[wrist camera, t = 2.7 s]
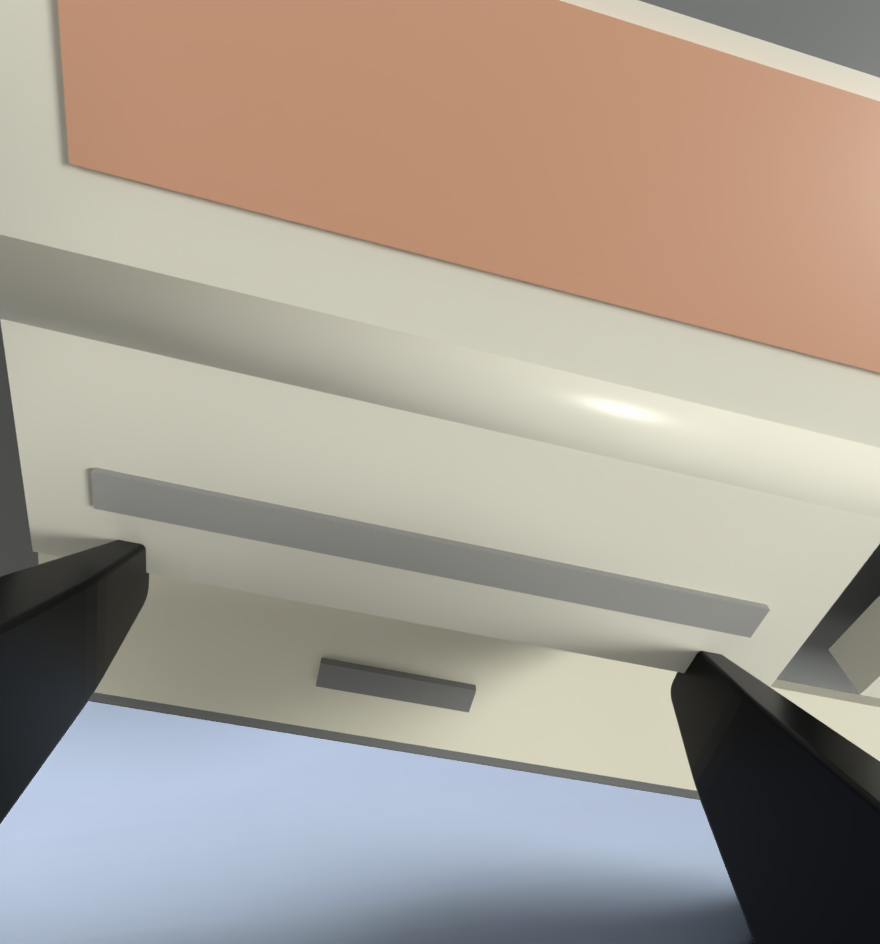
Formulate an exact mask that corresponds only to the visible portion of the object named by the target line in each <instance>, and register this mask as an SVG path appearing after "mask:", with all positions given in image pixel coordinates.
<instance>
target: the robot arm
mask: <svg viewBox="0 0 880 944" xmlns="http://www.w3.org/2000/svg"><path fill="white" fill-rule="evenodd" d="M148 589H149V573H146V548H145V546H144V545H142V544H139V543H133V542H128V541H123V540H115V541H112V542H109V543H106V544H103V545H99V546H96V547H93V548H90V549H87V550H84V551H80V552H77V553H74V554H71V555H68V556H64V557H61V558H58V559H55V560H52V561H48V562H45V563H42V564H39V565H36V566H32V567H29V568H26V569H23V570H20V571H17V572H13V573H10V574H7V575H4V576H1V577H0V824H1V822H2V821H3V819H4V818H5V817H6V815H7V814H8V812H9V811H10V810H11V808H12V807H13V805H14V804H15V803H16V801H17V800H18V799H19V797H20V796H21V794H22V793H23V792H24V790H25V789H26V787H27V786H28V785H29V783H30V782H31V780H32V779H33V778H34V776H35V775H36V773H37V772H38V771H39V769H40V768H41V766H42V765H43V764H44V762H45V761H46V759H47V758H48V757H49V755H50V754H51V752H52V751H53V750H54V748H55V747H56V745H57V744H58V743H59V741H60V740H61V738H62V737H63V736H64V734H65V733H66V731H67V730H68V729H69V727H70V726H71V724H72V723H73V722H74V720H75V719H76V717H77V716H78V715H79V713H80V712H81V710H82V709H83V708H84V706H85V705H86V703H87V702H88V700H89V699H90V697H91V696H92V695H93V693H94V692H95V690H96V688H97V687H98V685H99V683H100V682H101V680H102V678H103V677H104V675H105V673H106V671H107V670H108V668H109V666H110V664H111V662H112V661H113V659H114V657H115V655H116V654H117V652H118V650H119V648H120V646H121V645H122V643H123V641H124V639H125V637H126V636H127V634H128V632H129V630H130V629H131V627H132V625H133V623H134V621H135V620H136V618H137V616H138V614H139V612H140V611H141V609H142V607H143V605H144V603H145V601H146V598H147V595H148ZM670 693H671V701H672V704H673V708H674V711H675V715H676V719H677V722H678V726H679V730H680V733H681V737H682V741H683V744H684V748H685V752H686V755H687V759H688V762H689V766H690V770H691V773H692V776H693V780H694V783H695V786H696V789H697V792H698V795H699V798H700V801H701V803H702V806H703V809H704V811H705V814H706V817H707V819H708V822H709V825H710V827H711V830H712V833H713V835H714V838H715V840H716V843H717V846H718V848H719V851H720V854H721V856H722V859H723V862H724V864H725V867H726V870H727V872H728V875H729V878H730V880H731V883H732V886H733V888H734V891H735V894H736V896H737V899H738V901H739V904H740V907H741V909H742V912H743V915H744V917H745V920H746V923H747V925H748V928H749V931H750V933H751V936H752V939H753V941H754V944H880V761H879V760H877V759H876V758H874V757H873V756H871V755H870V754H868V753H867V752H865V751H864V750H862V749H861V748H859V747H858V746H856V745H855V744H853V743H852V742H850V741H849V740H847V739H846V738H845V737H843V736H842V735H840V734H839V733H837V732H836V731H834V730H833V729H831V728H830V727H828V726H827V725H825V724H824V723H822V722H821V721H819V720H818V719H816V718H815V717H813V716H812V715H811V714H809V713H808V712H806V711H805V710H803V709H802V708H800V707H799V706H797V705H796V704H794V703H793V702H791V701H790V700H788V699H787V698H785V697H784V696H782V695H781V694H779V693H778V692H776V691H775V690H774V689H772V688H771V687H769V686H768V685H766V684H765V683H763V682H762V681H760V680H759V679H757V678H756V677H754V676H753V675H751V674H750V673H748V672H747V671H745V670H744V669H742V668H741V667H740V666H738V665H737V664H735V663H734V662H732V661H731V660H729V659H728V658H726V657H725V656H723V655H721V654H716V653H711V652H706V651H700V652H698V653H697V654H696V656H695V658H694V659H693V661H692V662H691V664H690V665H689V667H688V668H687V670H686V671H685V673H680V672H677V674H676V676H675V678H674V680H673V682H672V685H671V692H670Z"/></svg>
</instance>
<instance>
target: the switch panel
mask: <svg viewBox="0 0 880 944" xmlns="http://www.w3.org/2000/svg"><path fill="white" fill-rule="evenodd" d="M639 1H642V2H645V3H649V4H652V5H655V6H658V7H661V8H664V9H667V10H670V11H673V12H677V13H680V14H683V15H686V16H689V17H692V18H695V19H698V20H701V21H705V22H708V23H711V24H714V25H717V26H720V27H723V28H726V29H730V30H733V31H736V32H739V33H742V34H745V35H748V36H751V37H754V38H758V39H761V40H764V41H767V42H770V43H773V44H776V45H779V46H783V47H786V48H789V49H792V50H795V51H798V52H801V53H804V54H807V55H811V56H814V57H817V58H820V59H823V60H826V61H829V62H832V63H836V64H839V65H842V66H845V67H848V68H851V69H854V70H857V71H860V72H864V73H867V74H870V75H873V76H876V77H879V78H880V0H639ZM58 558H61V557H60V556H54V555H49V554H44V553H38V552H33V549H32V542H31V535H30V528H29V521H28V514H27V507H26V499H25V492H24V485H23V478H22V471H21V464H20V457H19V450H18V442H17V435H16V428H15V421H14V414H13V407H12V400H11V392H10V385H9V378H8V371H7V364H6V357H5V350H4V343H3V335H2V328H1V321H0V577H1V576H4V575H7V574H10V573H13V572H17V571H20V570H23V569H26V568H29V567H32V566H36V565H39V564H42V563H45V562H48V561H52V560H55V559H58ZM879 596H880V544H879V545H878V547H877V548H876V549H875V551H874V552H873V553H872V554H871V556H870V557H869V558H868V560H867V561H866V562H865V564H864V565H863V566H862V568H861V569H860V570H859V571H858V573H857V574H856V575H855V577H854V578H853V579H852V581H851V582H850V583H849V585H848V586H847V587H846V588H845V590H844V591H843V592H842V594H841V595H840V596H839V598H838V599H837V600H836V602H835V603H834V604H833V605H832V607H831V608H830V609H829V611H828V612H827V613H826V615H825V616H824V617H823V618H822V620H821V621H820V622H819V624H818V625H817V626H816V628H815V629H814V630H813V632H812V633H811V634H810V635H809V637H808V638H807V639H806V641H805V642H804V643H803V645H802V646H801V647H800V649H799V650H798V651H797V652H796V654H795V655H794V656H793V658H792V659H791V660H790V662H789V663H788V664H787V666H786V667H785V668H784V669H783V671H782V672H781V673H780V675H779V676H778V677H777V679H776V680H775V681H774V683H773V684H772V685H771V686H770V687H771V688H772V689H774V690H775V691H776V692H778V693H779V694H781V695H782V696H784V697H785V698H787V699H788V700H790V701H791V702H793V703H794V704H796V705H797V706H799V707H800V708H802V709H803V710H805V711H806V712H808V713H809V714H811V715H812V716H813V717H815V718H816V719H818V720H819V721H821V722H822V723H824V724H825V725H827V726H828V727H830V728H831V729H833V730H834V731H836V732H837V733H839V734H840V735H842V736H843V737H845V738H846V739H847V740H849V741H850V742H852V743H853V744H855V745H856V746H858V747H859V748H861V749H862V750H864V751H865V752H867V753H868V754H870V755H871V756H873V757H874V758H876V759H877V760H879V761H880V698H874V697H869V696H864V695H860V694H859V693H858V691H857V690H856V688H855V687H854V686H853V684H852V683H851V681H850V680H849V678H848V677H847V676H846V674H845V673H844V671H843V670H842V668H841V667H840V666H839V664H838V663H837V661H836V660H835V658H834V657H833V656H832V654H831V653H830V651H829V650H828V649H829V648H830V647H831V646H832V645H833V644H834V643H835V642H836V641H837V640H838V639H839V638H840V637H841V636H842V635H843V634H844V633H845V631H846V630H847V629H848V628H849V627H850V626H851V625H852V624H853V623H854V622H855V621H856V620H857V619H858V618H859V617H860V616H861V615H862V614H863V612H864V611H865V610H866V609H867V608H868V607H869V606H870V605H871V604H872V603H873V602H874V601H875V600H876V599H877V598H878V597H879ZM676 674H677V672H675V671H669V670H664V669H659V668H653V667H648V666H643V665H637V664H632V663H627V662H621V661H616V660H611V659H605V658H600V657H594V656H589V655H584V654H578V653H573V652H568V651H562V650H557V649H552V648H546V647H541V646H536V645H530V644H525V643H520V642H514V641H509V640H504V639H498V638H493V637H488V636H482V635H477V634H471V633H466V632H461V631H455V630H450V629H445V628H439V627H434V626H429V625H423V624H418V623H413V622H407V621H402V620H397V619H391V618H386V617H381V616H375V615H370V614H364V613H359V612H354V611H348V610H343V609H338V608H332V607H327V606H322V605H316V604H311V603H306V602H300V601H295V600H290V599H284V598H279V597H274V596H268V595H263V594H258V593H252V592H247V591H241V590H236V589H231V588H225V587H220V586H215V585H209V584H204V583H199V582H193V581H188V580H183V579H177V578H172V577H167V576H161V575H156V574H151V573H149V589H148V595H147V598H146V601H145V603H144V605H143V607H142V609H141V611H140V612H139V614H138V616H137V618H136V620H135V621H134V623H133V625H132V627H131V629H130V630H129V632H128V634H127V636H126V637H125V639H124V641H123V643H122V645H121V646H120V648H119V650H118V652H117V654H116V655H115V657H114V659H113V661H112V662H111V664H110V666H109V668H108V670H107V671H106V673H105V675H104V677H103V678H102V680H101V682H100V683H99V685H98V687H97V688H96V690H95V692H94V693H93V695H92V696H91V697H90V699H89V700H88V701H92V702H98V703H104V704H111V705H117V706H123V707H129V708H135V709H142V710H148V711H154V712H160V713H166V714H172V715H179V716H185V717H191V718H197V719H203V720H210V721H216V722H222V723H228V724H234V725H240V726H247V727H253V728H259V729H265V730H271V731H278V732H284V733H290V734H296V735H302V736H308V737H315V738H321V739H327V740H333V741H339V742H346V743H352V744H358V745H364V746H370V747H376V748H383V749H389V750H395V751H401V752H407V753H414V754H420V755H426V756H432V757H438V758H444V759H451V760H457V761H463V762H469V763H475V764H482V765H488V766H494V767H500V768H506V769H512V770H519V771H525V772H531V773H537V774H543V775H550V776H556V777H562V778H568V779H574V780H581V781H587V782H593V783H599V784H605V785H611V786H618V787H624V788H630V789H636V790H642V791H649V792H655V793H661V794H667V795H673V796H679V797H686V798H692V799H698V800H700V798H699V795H698V792H697V789H696V786H695V783H694V780H693V776H692V773H691V770H690V766H689V762H688V759H687V755H686V752H685V748H684V744H683V741H682V737H681V733H680V730H679V726H678V722H677V719H676V715H675V711H674V708H673V704H672V701H671V693H670V692H671V685H672V682H673V680H674V678H675V676H676Z"/></svg>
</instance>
